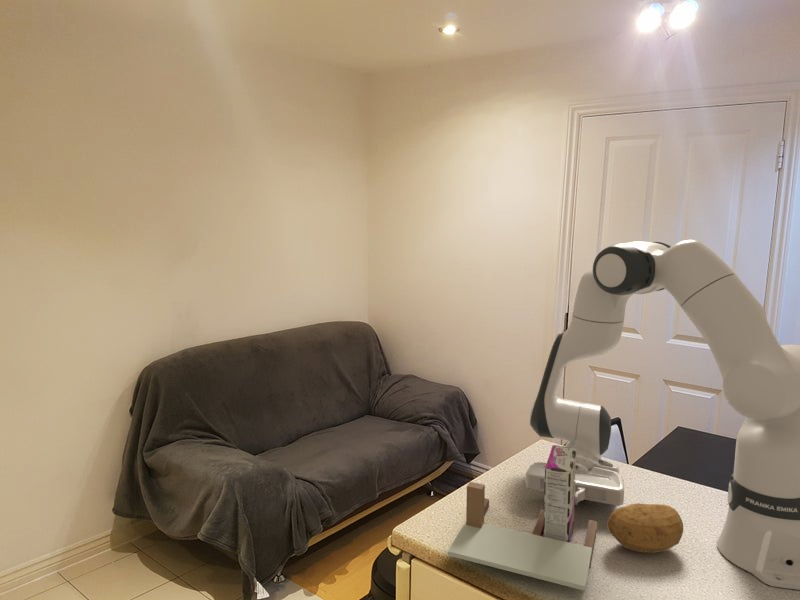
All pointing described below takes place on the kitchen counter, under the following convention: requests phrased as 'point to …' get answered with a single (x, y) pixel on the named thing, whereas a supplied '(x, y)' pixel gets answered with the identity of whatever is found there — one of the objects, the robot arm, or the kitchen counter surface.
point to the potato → (646, 527)
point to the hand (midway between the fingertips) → (569, 500)
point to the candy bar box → (559, 493)
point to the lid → (518, 548)
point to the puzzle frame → (540, 528)
